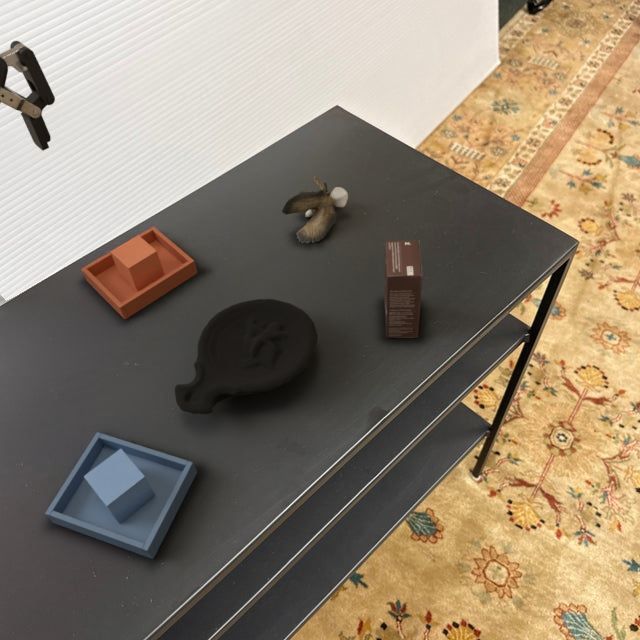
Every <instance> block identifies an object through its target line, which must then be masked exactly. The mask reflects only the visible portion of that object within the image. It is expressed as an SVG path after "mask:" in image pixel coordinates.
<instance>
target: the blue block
mask: <svg viewBox="0 0 640 640" xmlns="http://www.w3.org/2000/svg"><path fill="white" fill-rule="evenodd" d="M84 478H85V479H86V481H87V482H88V483H89V485H90V486H91V488H92V489H93V490H94V492H95V493H96V494H97V496H98V497H99V498H100V500H101V501H102V502H103V503H104V505H105V506H106V507H107V509H108V510H109V511H110V512H111V514H112V515H113V516H114V518H115V519H116V520H117V521H118V523H119V524H120V523H121V522H123V521H124V520H125V519H126V518H128V517H129V516H130V515H131V514H133V513H134V512H135V511H136V510H138V509H139V508H140V507H141V506H143V505H144V504H145V503H146V502H148V501H149V500H150V499H151V498H153V497H154V496H155V493H154V492H153V490H152V488H151V486H150V485H149V483H148V481H147V479H146V477H145V476H144V475H143V473H142V472H141V471H140V470H139V469H138V468H137V466H136V465H135V464H134V463H133V462H132V461H131V459H130V458H129V457H128V456H127V455H126V453H125V452H124V451H123V450H122V449H119V450H118V451H117V452H115V453H114V454H113V455H111V456H110V457H109V458H107V459H106V460H105V461H103V462H102V463H101V464H99V465H98V466H97V467H95V468H94V469H93V470H91V471H90V472H89V473H87V474H86V475H85V476H84Z"/></svg>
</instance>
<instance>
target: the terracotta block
mask: <svg viewBox="0 0 640 640" xmlns="http://www.w3.org/2000/svg"><path fill="white" fill-rule="evenodd" d="M139 235H140V234H137V235H135V236H134V237H132V238H131V239H129V240H128V241H125V242H124V243H123V244H120V245H119V246H117V247H116V248H114V249H112V250H110V251H109V252H111V255H112V257H113V260H114V262H115V265H116V267H117V269H118V272H119V274H120V275H121V276H122V277H123V278H124V279H125V280H126V281H127V282H128V283H129V284H130V285H131V286H132V287H133V288H134V289H135V290H137V291H139V290H140V289H142V288H143V287H145V286H146V285H148V284H150V283H151V282H153V281H154V280H156V279H157V278H159V277H161V276H162V275H164V271H163V268H162V265H161V262H160V259H159V256H158V253H157V251H156V250H155V249H154V248H153V247H152V246H150V245H149V244H148V243H147V242H146V241H145V240H143V239H142V238H141V237H140V236H139Z"/></svg>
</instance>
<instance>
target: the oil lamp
mask: <svg viewBox="0 0 640 640" xmlns="http://www.w3.org/2000/svg"><path fill="white" fill-rule="evenodd" d="M318 336H319V335H318V332H317V327H316V325H315V322H314V321H313V319H312V318H311V316H309V314H308V313H306V311H304V310H303V309H302V308H299V307H297V306H296V305H294V304H292V303H290V302H286V301H282V300H277V299H273V298H258V299H252V300H245V301H242V302H238V303H235V304H232V305H230V306H228V307H226V308H224V309H222V310H221V311H219V312H217V313H216V314H215V315H214V316H213V317H212V318H210V319H209V321H208V322H207V324H206V325H205V326H204V328H203V329H202V331H201V334H200V336H199V339H198V343H197V358H196V361H194V363H193V367H194V370H195V376H194V379H193V380H191V382H189V383H185V384H179V383H178V384H176V385H175V386H174V397H175V403H176V405H177V406H178V407H179V409H180V410H181V411H182V412H184V413H189V414H193V415H209V414H210V415H211V414H212V413H214V407H215V406H216V405H218V404H219V403H221V402H223V401H225V400H229V399H231V398H234V397H241V396H245V395H250V394H261V393H266V392H269V391H272V390H275V389H277V388H279V387H281V386H284V385H285V384H287V383H289V382H290V381H292V380H293V379H295V378H296V377H297V376H299V374H301V373H302V372H303V371H304V370H305V369H306V368H307V366H308V365H309V364H310V362H311V361H312V359H313V357H314V355H315V352H316V349H317V344H318Z"/></svg>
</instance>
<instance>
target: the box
mask: <svg viewBox="0 0 640 640" xmlns="http://www.w3.org/2000/svg"><path fill="white" fill-rule="evenodd" d="M420 242H421V241H420V240H419V239H411V240H408V239H407V240H406V239H405V240H386V241H385V254H384V255H385V263H384V267H385V268H384V314H385V316H384V317H385V337H386V338H387V339H393V338H394V339H413V338H415V339H416V338H418V337H419V330H420V329H419V328H420V316H421V303H422V291H423V266H422V259H423V258H422V252H421V243H420Z"/></svg>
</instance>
